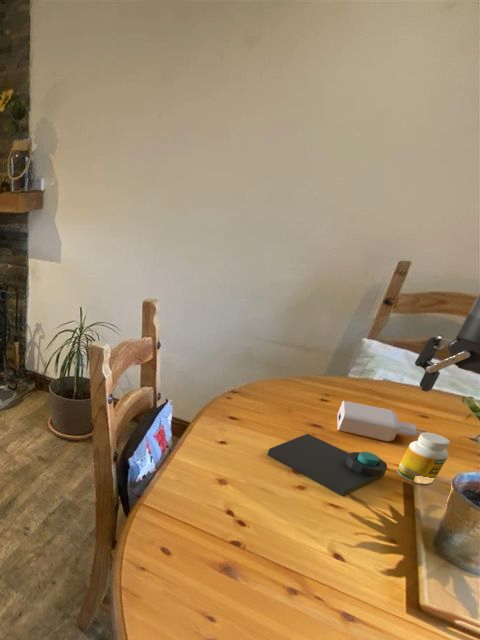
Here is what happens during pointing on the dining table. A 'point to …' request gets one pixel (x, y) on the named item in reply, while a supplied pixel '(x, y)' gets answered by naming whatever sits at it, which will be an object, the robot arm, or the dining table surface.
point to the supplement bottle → (424, 457)
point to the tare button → (368, 458)
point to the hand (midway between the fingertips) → (456, 399)
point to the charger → (373, 422)
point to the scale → (327, 464)
